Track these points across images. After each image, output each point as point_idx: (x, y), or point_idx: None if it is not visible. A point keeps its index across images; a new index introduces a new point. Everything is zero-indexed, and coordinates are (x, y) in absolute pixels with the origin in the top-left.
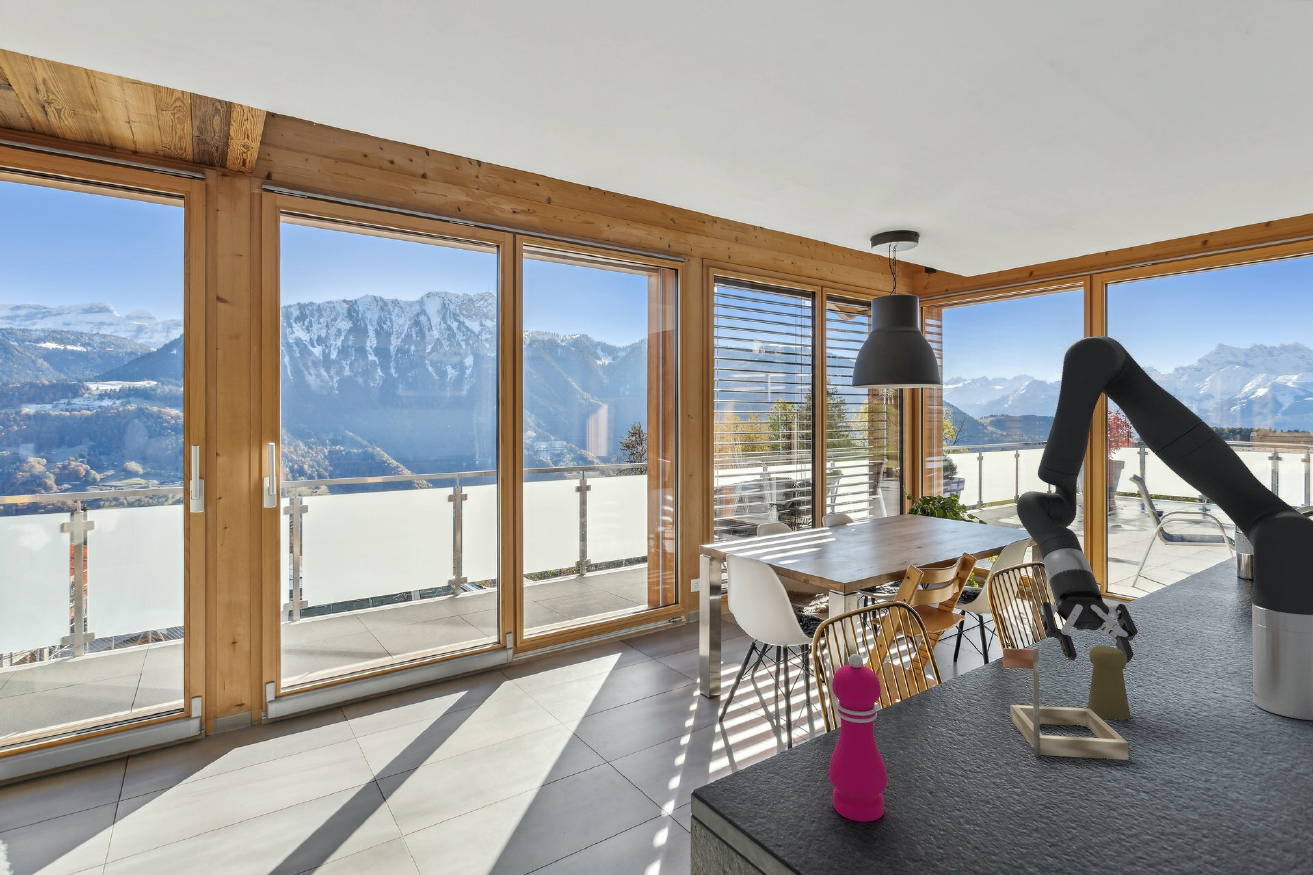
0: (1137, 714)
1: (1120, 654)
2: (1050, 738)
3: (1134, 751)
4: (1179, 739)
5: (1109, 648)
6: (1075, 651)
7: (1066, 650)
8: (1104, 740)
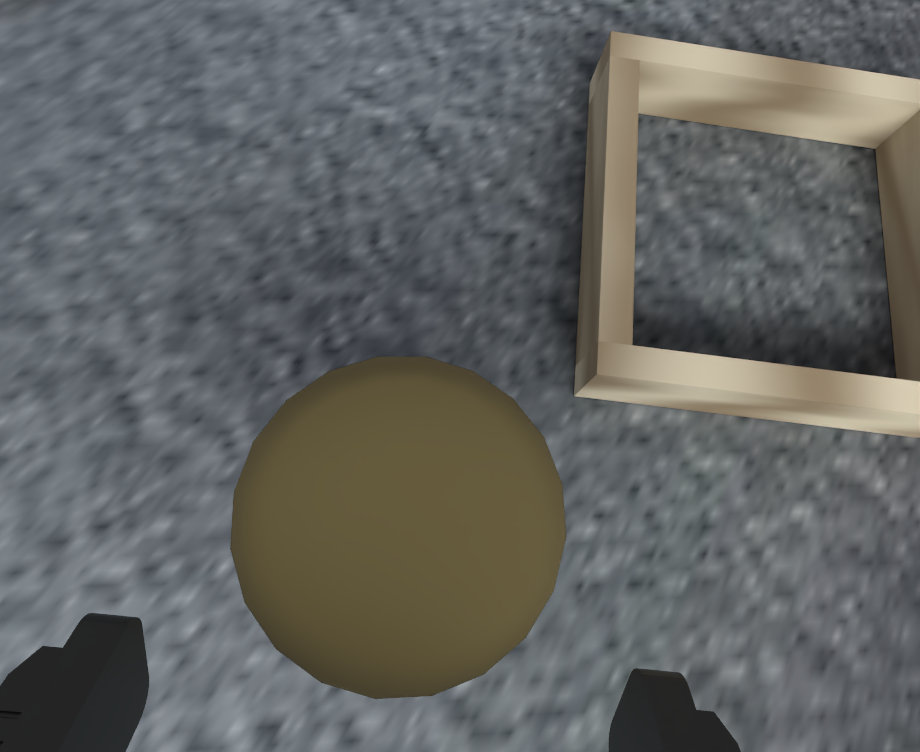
0: None
1: (344, 375)
2: (905, 78)
3: (525, 143)
4: (252, 236)
5: (395, 484)
6: (652, 699)
7: (731, 742)
8: (697, 52)
